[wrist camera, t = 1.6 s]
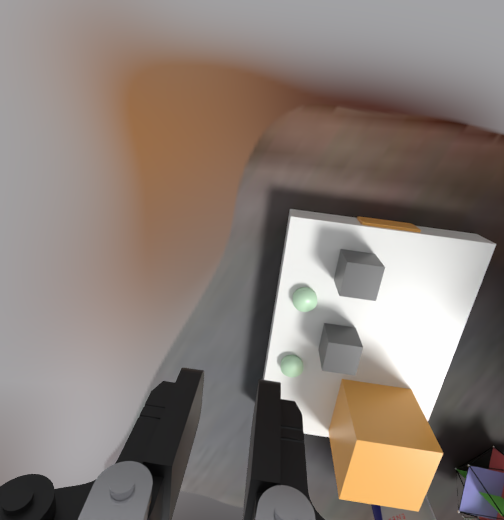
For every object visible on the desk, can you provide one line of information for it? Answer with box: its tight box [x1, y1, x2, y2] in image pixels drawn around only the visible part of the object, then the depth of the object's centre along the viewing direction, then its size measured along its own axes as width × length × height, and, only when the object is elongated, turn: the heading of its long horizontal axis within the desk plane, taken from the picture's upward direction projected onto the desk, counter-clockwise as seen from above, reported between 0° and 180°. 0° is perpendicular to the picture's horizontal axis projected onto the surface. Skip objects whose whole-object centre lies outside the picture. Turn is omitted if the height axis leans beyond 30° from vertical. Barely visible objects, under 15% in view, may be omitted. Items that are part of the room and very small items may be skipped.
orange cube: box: [329, 379, 443, 512], centre depth 27 cm, size 6×6×6 cm
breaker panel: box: [263, 209, 496, 437], centre depth 28 cm, size 14×19×3 cm
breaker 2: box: [318, 323, 363, 375], centre depth 26 cm, size 2×2×3 cm
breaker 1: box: [334, 249, 385, 301], centre depth 24 cm, size 2×2×3 cm
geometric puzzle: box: [455, 446, 504, 520], centre depth 31 cm, size 7×7×8 cm
